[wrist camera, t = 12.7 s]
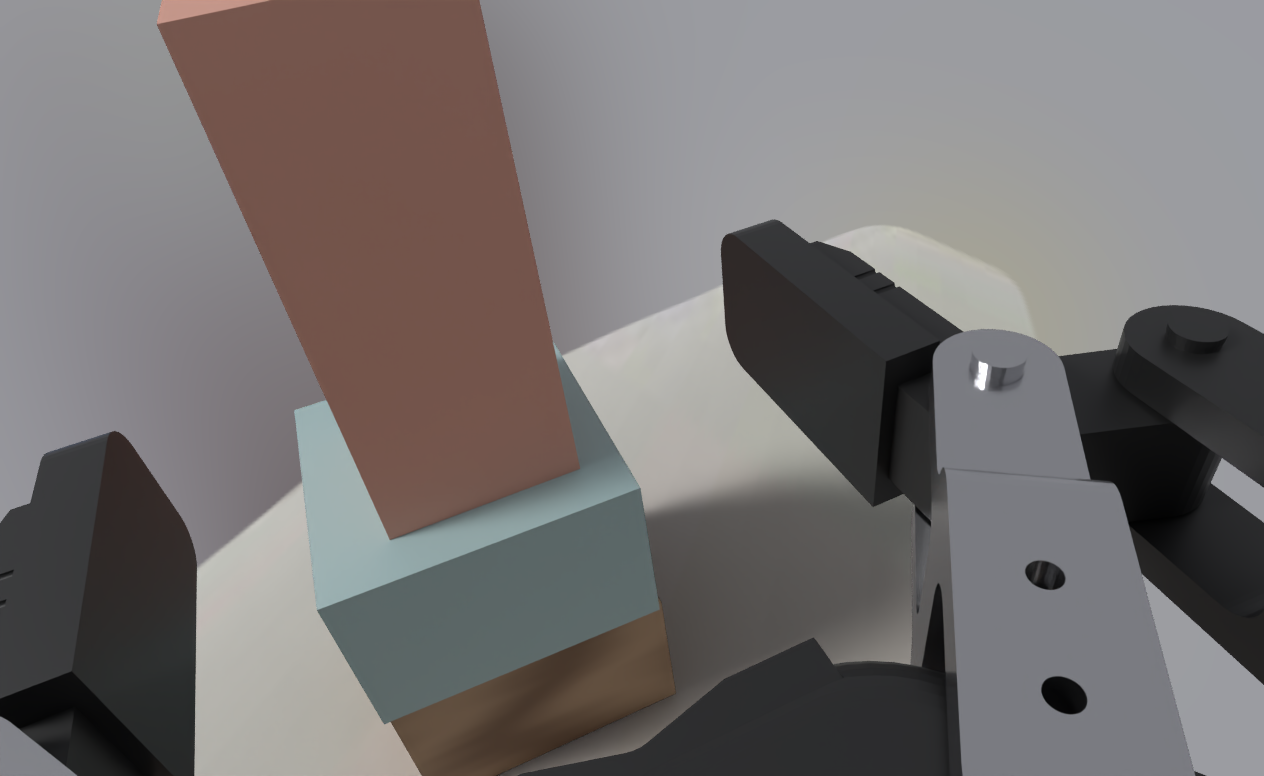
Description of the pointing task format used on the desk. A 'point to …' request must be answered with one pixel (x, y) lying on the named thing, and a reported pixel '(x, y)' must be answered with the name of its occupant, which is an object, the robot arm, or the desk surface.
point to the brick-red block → (389, 234)
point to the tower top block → (473, 567)
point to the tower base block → (542, 703)
